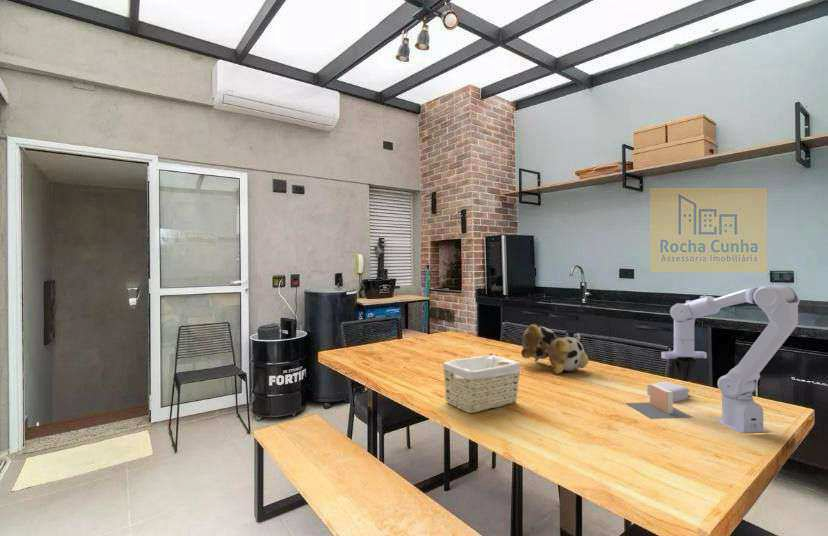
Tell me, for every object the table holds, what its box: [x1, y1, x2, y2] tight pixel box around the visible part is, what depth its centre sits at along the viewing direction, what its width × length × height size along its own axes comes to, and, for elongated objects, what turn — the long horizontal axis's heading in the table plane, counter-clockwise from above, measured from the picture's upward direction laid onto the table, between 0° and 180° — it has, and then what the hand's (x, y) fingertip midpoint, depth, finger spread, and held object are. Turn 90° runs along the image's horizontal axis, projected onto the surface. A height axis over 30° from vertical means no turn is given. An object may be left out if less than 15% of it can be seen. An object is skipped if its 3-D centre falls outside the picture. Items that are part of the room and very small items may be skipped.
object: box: [442, 354, 521, 414], centre depth 141 cm, size 24×16×15 cm
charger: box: [647, 381, 690, 403], centre depth 146 cm, size 5×9×15 cm
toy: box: [521, 324, 589, 375], centre depth 187 cm, size 22×34×20 cm
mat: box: [624, 401, 694, 420], centre depth 132 cm, size 14×14×1 cm
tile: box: [649, 383, 674, 414], centre depth 133 cm, size 9×2×7 cm, turn 3°
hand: (683, 379), depth 133 cm, fingers closed
